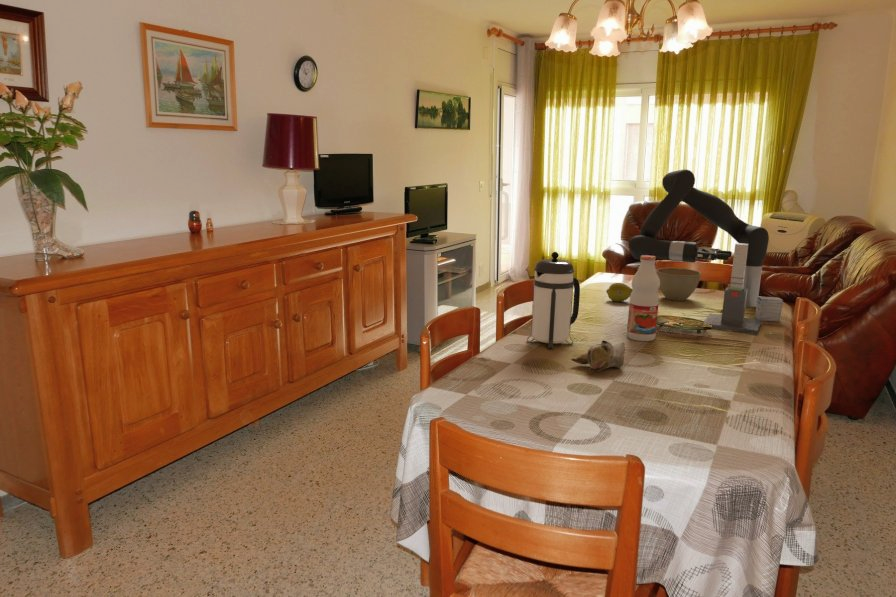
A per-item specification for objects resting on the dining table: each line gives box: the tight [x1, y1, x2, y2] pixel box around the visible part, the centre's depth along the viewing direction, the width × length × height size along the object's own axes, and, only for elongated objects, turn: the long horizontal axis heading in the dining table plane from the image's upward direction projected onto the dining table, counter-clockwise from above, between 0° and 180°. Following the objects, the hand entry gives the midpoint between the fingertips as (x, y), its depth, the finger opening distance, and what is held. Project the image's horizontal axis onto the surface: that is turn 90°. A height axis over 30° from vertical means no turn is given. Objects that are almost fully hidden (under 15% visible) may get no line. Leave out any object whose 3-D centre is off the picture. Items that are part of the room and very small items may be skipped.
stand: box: [703, 286, 762, 335], centre depth 238 cm, size 18×18×14 cm
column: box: [729, 242, 748, 292], centre depth 236 cm, size 4×4×22 cm
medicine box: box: [754, 296, 784, 322], centre depth 248 cm, size 8×4×9 cm, turn 84°
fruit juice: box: [626, 254, 660, 342], centre depth 217 cm, size 9×9×28 cm
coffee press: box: [526, 251, 581, 350], centre depth 209 cm, size 17×16×30 cm
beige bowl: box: [656, 267, 702, 302], centre depth 282 cm, size 18×18×12 cm
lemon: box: [605, 282, 632, 303], centre depth 274 cm, size 11×8×8 cm
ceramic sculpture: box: [570, 340, 626, 373], centre depth 187 cm, size 11×9×15 cm
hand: (730, 255), depth 236 cm, fingers open, 8 cm apart
